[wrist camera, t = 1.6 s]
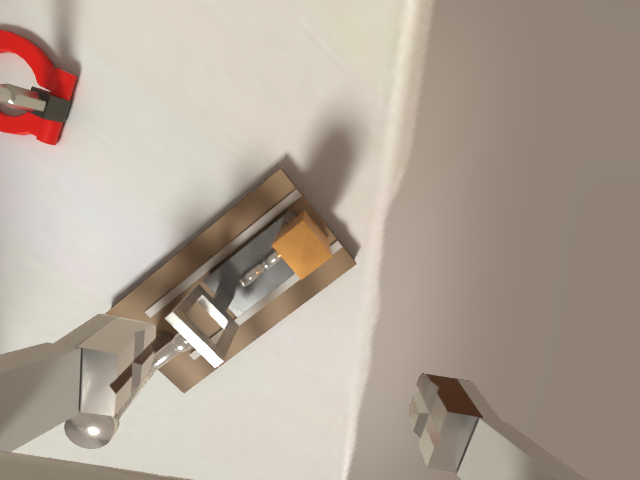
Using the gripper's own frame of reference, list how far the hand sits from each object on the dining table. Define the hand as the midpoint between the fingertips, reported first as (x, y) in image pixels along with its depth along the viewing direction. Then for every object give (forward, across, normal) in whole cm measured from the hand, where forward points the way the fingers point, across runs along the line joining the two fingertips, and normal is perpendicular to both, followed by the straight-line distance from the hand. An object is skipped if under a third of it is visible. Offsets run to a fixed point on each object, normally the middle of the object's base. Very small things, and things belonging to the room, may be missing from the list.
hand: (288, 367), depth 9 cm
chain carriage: (+20, +3, +4) cm, 21 cm away
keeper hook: (+21, +11, +12) cm, 26 cm away
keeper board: (+22, +7, +8) cm, 24 cm away
